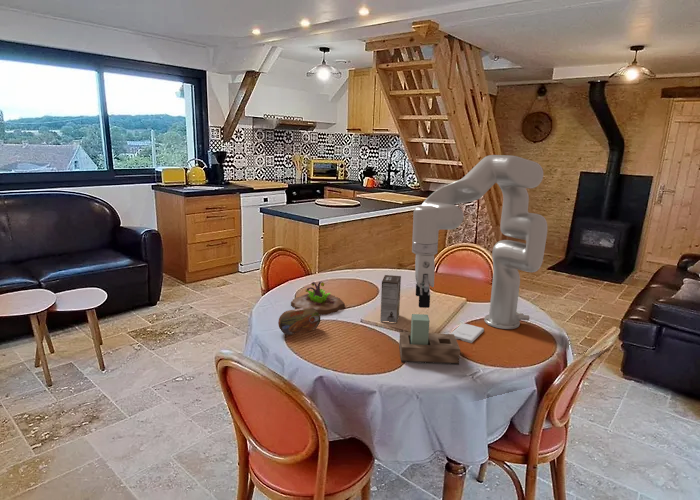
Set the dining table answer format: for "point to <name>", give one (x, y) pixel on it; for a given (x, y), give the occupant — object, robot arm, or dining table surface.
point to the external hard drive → (467, 332)
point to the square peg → (419, 329)
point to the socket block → (430, 349)
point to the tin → (299, 321)
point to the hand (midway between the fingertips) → (422, 301)
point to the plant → (318, 301)
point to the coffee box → (390, 298)
